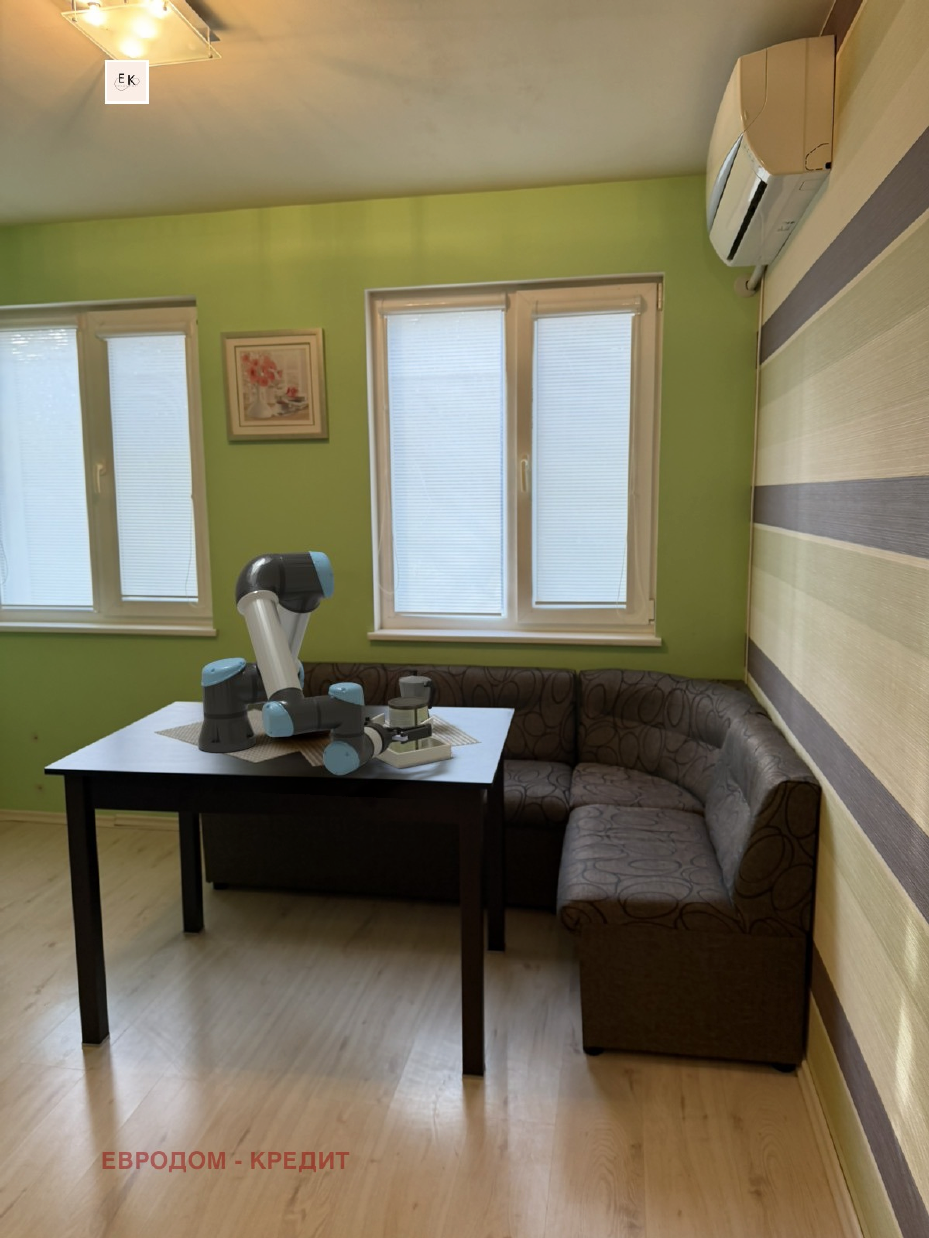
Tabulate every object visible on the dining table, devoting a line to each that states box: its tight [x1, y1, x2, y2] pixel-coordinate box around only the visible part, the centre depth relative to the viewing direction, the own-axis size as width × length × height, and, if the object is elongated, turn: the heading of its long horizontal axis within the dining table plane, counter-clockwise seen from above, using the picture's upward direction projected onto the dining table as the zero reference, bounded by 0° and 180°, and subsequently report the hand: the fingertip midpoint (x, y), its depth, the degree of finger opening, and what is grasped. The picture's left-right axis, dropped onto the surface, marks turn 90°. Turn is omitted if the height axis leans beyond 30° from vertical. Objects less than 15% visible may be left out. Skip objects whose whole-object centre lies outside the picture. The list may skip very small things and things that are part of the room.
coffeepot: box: [398, 668, 437, 719], centre depth 244 cm, size 15×9×18 cm, turn 43°
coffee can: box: [387, 696, 429, 753], centre depth 219 cm, size 10×10×14 cm
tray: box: [375, 735, 452, 770], centre depth 220 cm, size 16×16×4 cm
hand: (407, 720), depth 218 cm, fingers open, 13 cm apart
